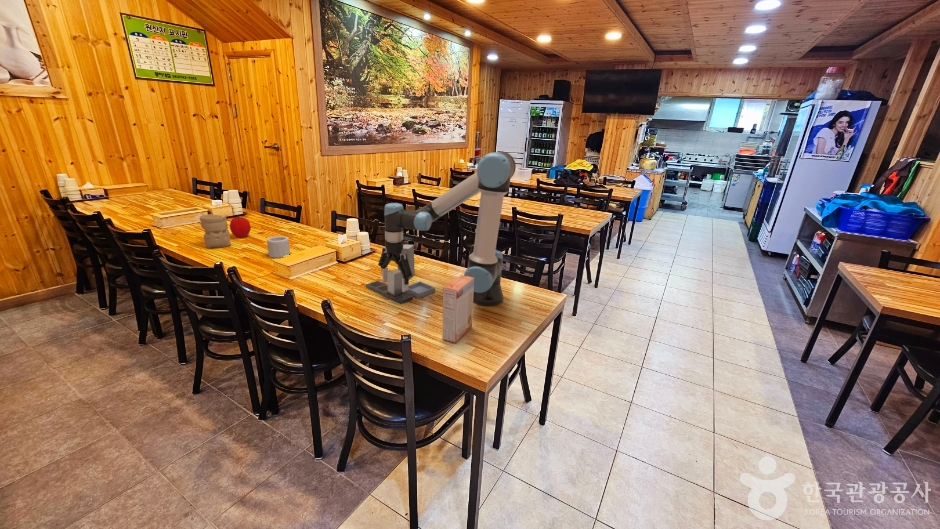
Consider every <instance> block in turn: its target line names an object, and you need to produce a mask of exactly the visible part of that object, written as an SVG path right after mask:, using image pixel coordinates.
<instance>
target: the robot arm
mask: <svg viewBox="0 0 940 529" xmlns="http://www.w3.org/2000/svg"><path fill="white" fill-rule="evenodd" d="M516 167H517V165H516V161H515V159H514V157H513V156H512V155H511V154H510V153H508V152H506V151H496V152H495V151H493V152H489V153H487V154H485V155H484V156H483V157H482V158H480V160H479V162H478V164H477V167H476V172H475V173H473V174H472V175H470V176H469V177H467V178H466V179H464V180H462V181H461V182H459V183H458V184H456V185H455V186H453V187H452V188H450V189H449V190H448V191H446V192H444V193H443V194H441V195H440V196H438V197H437V198H435V199H434V200H432V201H431V202H429V203H427V204H425V205H424V206H423V207H420V208H418V209H416V210H408V209H404V206H403V204H402V203H398V202H390V203H387V204H385V205H384V211H383V212H384V214H383V215H384V239H385V242H384V243H385V244H384V246H385V247H383V248H382V249H381V255H380V258H379V259H378V260H379V261H378V264H377V265H378V267H380V269H381V276H382V280H381V282H383V283H385V284H386V283H388V281H387V271H389V268H388V265H389V264H390V263H391V262H393V263H395V264H396V265H397V268H398V267H399V269H400V271H401V273H402V275H403V277H402V292H405V291H407V290H408V285H410V284H409V283H410V279H409V277H411V276H412V272H411V269H410V266H409V263H408V259H407V254H402V249H403V244H404V241H403V240H404V229H406V230H407V229H409V230H414V231H418V232H419V231H420V232H421V231H422V232H423V231H426V232H427V231H429V230H430V228H431V227H432V223H434V222H436V221H437V220H438V219H440V218H441V217H442V216H444V215H445V214H447V213H449V212H451V211H452V210H453V209H455V208H456V207H458V206H460V205H461V204H463V203H465V202H466V201H468V200H469V199H471V198H473V197H474V196H476V195H478V194H479V193H480V199H479V206H478V213H477V214H478V215H477V221H476V222H477V223H476V230H475V236H474V237H475V238H474V243H473V244H474V246H473V252H471V253H470V254H469V255H468V262H467V267H466V268H467V269H466V270H465V271H464V274H463V275H464V276H468V277H473V278H474V293H473V304H477V305H480V306H487V307H488V306H489V307H490V306H491V307H492V305H493V306H497V304H498V305H500V304H501V303H502V302H504V294H503V290H502V286H501V283H502V282H501V279H502V269H503V268H502V267H503V260H504V256H503V255H504V254H503V253H502V251H500V250H497V241H498V236H499V229H500V222H501V216H502V209H503V205H504V204H503V202H504V196H506V195H507V194H508V193H509V192H510V184H511V179H512V178H513V177H514V175H515V172H516ZM399 260H400V261H399ZM405 274H406V275H405ZM412 277H413V276H412ZM412 277H411V278H412ZM499 303H500V304H499Z"/></svg>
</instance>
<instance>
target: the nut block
mask: <svg viewBox="0 0 940 529" xmlns="http://www.w3.org/2000/svg"><path fill="white" fill-rule="evenodd" d="M387 281H388V282H387V285H388V294H389V295H391V296H393V297H396V296H398V295H401V294H403V292H402V273H401V271H400V270H398V268H394V269H391V270H388V271H387Z"/></svg>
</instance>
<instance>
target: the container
mask: <svg viewBox="0 0 940 529" xmlns="http://www.w3.org/2000/svg"><path fill="white" fill-rule="evenodd" d="M199 221H200V227H201V229H203V230H204V231H203V232H204V234H203V241H204V246H206V247H207V248H225V247H228V246H231V245H232V243H231V237H230V232H229V226H228V221H227V216H226V215H224V216H222V215H217V214H213V213H209V214H208V213H207V214H203V215H200V216H199Z"/></svg>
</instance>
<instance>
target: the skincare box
mask: <svg viewBox="0 0 940 529" xmlns="http://www.w3.org/2000/svg"><path fill="white" fill-rule="evenodd" d="M402 254H407V259H408V263H409V266H410V269H411V272H412V276H411V277H409V280H410V279H411V278H412V277H413V276H414V275H415V272H416V271H415V245H414V244H404V243H403V249H402ZM399 261H400V260H399ZM397 270H400V269H399V267H398V266H397ZM405 275H406V274H405ZM402 277H403V275H402Z"/></svg>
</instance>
